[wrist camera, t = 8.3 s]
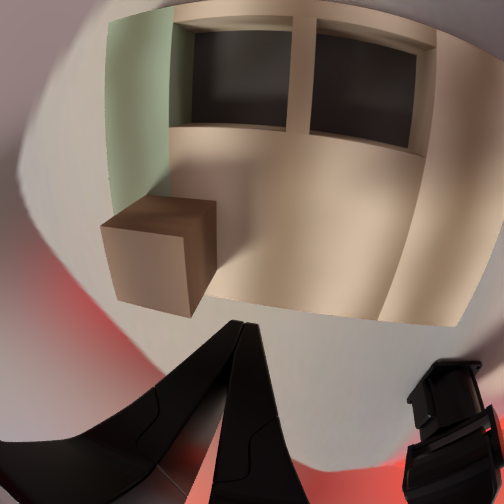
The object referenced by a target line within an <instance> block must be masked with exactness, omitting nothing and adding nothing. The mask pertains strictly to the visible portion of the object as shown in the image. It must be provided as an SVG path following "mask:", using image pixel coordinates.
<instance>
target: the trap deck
mask: <svg viewBox="0 0 504 504" xmlns="http://www.w3.org/2000/svg"><path fill="white" fill-rule="evenodd" d="M105 129H106V147H107V160H108V171H109V181H110V189H111V197H112V205H113V212H114V216H115V215H116V214H118V213H119V212H121V211H122V210H124V209H125V208H127V207H128V206H130V205H131V204H133V203H134V202H136V201H137V200H139V199H140V198H142V197H143V196H145V195H154V196H167V197H180V198H191V199H202V200H212V201H217V206H216V211H217V271H216V273H215V275H214V277H213V278H212V280H211V282H210V284H209V286H208V288H207V289H206V291H205V293H204V295H208V296H213V297H219V298H224V299H230V300H235V301H241V302H247V303H253V304H259V305H265V306H271V307H278V308H284V309H291V310H298V311H305V312H312V313H319V314H327V315H335V316H343V317H351V318H360V319H369V320H378V321H388V322H398V323H410V324H422V325H435V326H450V327H456V325H457V324H458V322H459V320H460V318H461V317H462V315H463V313H464V311H465V309H466V307H467V305H468V304H469V302H470V300H471V298H472V296H473V294H474V292H475V290H476V288H477V286H478V283H479V281H480V279H481V277H482V275H483V272H484V270H485V268H486V266H487V263H488V261H489V258H490V256H491V253H492V251H493V248H494V246H495V243H496V240H497V238H498V235H499V232H500V229H501V226H502V223H503V220H504V62H503V61H501V60H500V59H498V58H496V57H494V56H493V55H491V54H489V53H487V52H485V51H483V50H481V49H480V48H478V47H476V46H474V45H472V44H470V43H468V42H465V41H463V40H461V39H459V38H457V37H454V36H452V35H450V34H447V33H445V32H443V31H440V30H438V29H435V28H432V27H430V26H427V25H424V24H421V23H418V22H415V21H412V20H409V19H406V18H403V17H399V16H396V15H392V14H389V13H385V12H381V11H377V10H372V9H368V8H363V7H358V6H353V5H348V4H342V3H335V2H328V1H320V0H209V1H201V2H194V3H187V4H181V5H175V6H170V7H165V8H160V9H156V10H152V11H147V12H143V13H140V14H136V15H132V16H129V17H125V18H122V19H119V20H116V21H113V22H110V23H109V27H108V36H107V49H106V65H105Z"/></svg>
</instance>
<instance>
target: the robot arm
mask: <svg viewBox="0 0 504 504" xmlns="http://www.w3.org/2000/svg"><path fill="white" fill-rule="evenodd" d="M481 367H482V363H481V362H480V361H477V362H437V363H434V364H433V365H432V366H431V368H430V369H429V371H428V372H427V373H426V375H425V376H424V377H423V379H422V380H421V381H420V383H419V384H418V385H417V387H416V388H415V389H414V390H413V392H412V393H411V394H410V395H409V397H408V398H407V403H408V404H412V406H413V413H414V420H415V427H416V429H419V430H420V439H421V442H420V443H417V444H415V445H414V444H412V445H410V446H408V450H407V455H406V464H405V471H404V478H403V485H402V490H403V492H404V496H405V499H406V500H407V502H408V504H493V503H494V501H495V499H496V497H497V494H498V492H499V490H500V487H501V484H502V480H501V472H500V469H501V468H502V467H504V440H503V433H502V429H501V426H500V422H499V419H498V416H497V414H496V412H495V410H494V408H493V406H492V404H491V405H489V406H488V407H486V409H485V408H484V404H483V401H482V398H481V394H480V391H479V388H478V385H477V382H476V379H475V375H476V374H477V372H478V371H479V370H480V369H481ZM223 412H224V414H223ZM222 415H223V421H222V427H221V433H220V439H219V445H218V451H217V458H216V464H215V471H214V477H213V484H212V489H211V494H210V499H209V504H310V503H309V501H308V499H307V497H306V494H305V492H304V490H303V487H302V485H301V482H300V480H299V478H298V475H297V473H296V470H295V468H294V466H293V463H292V461H291V458H290V455H289V452H288V449H287V446H286V443H285V440H284V436H283V432H282V428H281V424H280V419H279V417H278V411H277V406H276V402H275V397H274V393H273V388H272V384H271V379H270V374H269V370H268V365H267V360H266V356H265V351H264V347H263V342H262V337H261V333H260V328H259V325H258V324H255V323H249V322H246V323H244V322H243V321H238V320H230V321H229V322H228V323H227V324H226V325H225V326H224V327H222V328H221V329H220V330H219V331H218V332H217V333H216V334H215V335H213V336H212V337H211V338H210V339H209V340H208V341H206V342H205V343H204V344H203V345H202V346H201V347H200V348H198V349H197V350H196V351H195V352H194V353H193V354H191V355H190V356H189V357H188V358H187V359H186V360H184V361H183V362H182V363H181V364H180V365H179V366H177V367H176V368H175V369H174V370H173V371H171V372H170V373H169V374H168V375H167V376H165V377H164V378H163V379H162V380H161V381H159V382H158V383H157V384H156V385H155V387H152V388H151V389H150V390H148V391H147V392H146V393H145V394H143V395H142V396H141V397H139V398H138V399H137V400H136V401H134V402H133V403H132V404H130V405H129V406H127V407H126V408H124V409H123V410H121V411H120V412H118V413H116V414H115V415H113V416H111V417H110V418H108V419H106V420H105V421H103V422H101V423H100V424H98V425H96V426H94V427H93V428H91V429H89V430H87V431H86V432H84V433H82V434H80V435H77V436H75V437H72V438H69V439H64V440H53V441H38V442H3V441H1V440H0V504H184V503H185V501H186V499H187V496H188V494H189V492H190V490H191V488H192V486H193V483H194V481H195V479H196V476H197V474H198V472H199V470H200V467H201V465H202V462H203V460H204V458H205V455H206V453H207V451H208V448H209V446H210V444H211V441H212V439H213V437H214V434H215V432H216V429H217V427H218V424H219V422H220V420H221V417H222ZM490 427H491V430H489V431H487V432H486V429H488V428H490Z"/></svg>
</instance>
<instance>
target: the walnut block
mask: <svg viewBox="0 0 504 504" xmlns="http://www.w3.org/2000/svg"><path fill="white" fill-rule="evenodd" d="M216 206H217V201H212V200H202V199H191V198H180V197H167V196H154V195H145V196H143V197H142V198H140V199H139V200H137V201H136V202H134V203H133V204H131V205H130V206H128V207H127V208H125V209H124V210H122V211H121V212H119V213H118V214H116V215H115V216H114V217H112V218H111V219H109V220H108V221H106V222H105V223H104V224H102V225H101V226H100V228H101V233H102V238H103V243H104V248H105V252H106V257H107V261H108V265H109V270H110V274H111V278H112V281H113V285H114V289H115V293H116V296H117V300H119V301H123V302H127V303H130V304H134V305H138V306H142V307H146V308H150V309H154V310H158V311H162V312H166V313H170V314H174V315H178V316H183V317H187V318H191V317H192V315H193V313H194V312H195V310H196V308H197V306H198V304H199V302H200V300H201V299H202V297H203V295H204V293H205V291H206V289H207V288H208V286H209V284H210V282H211V280H212V278H213V277H214V275H215V273H216V271H217V211H216Z"/></svg>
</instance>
